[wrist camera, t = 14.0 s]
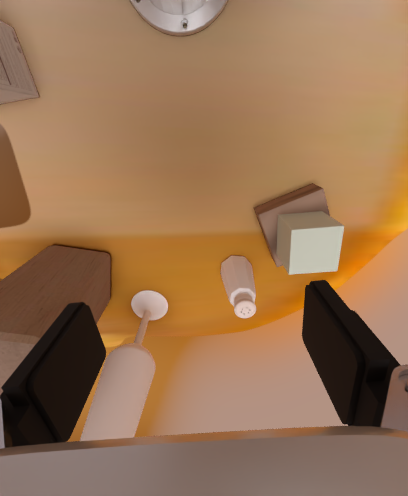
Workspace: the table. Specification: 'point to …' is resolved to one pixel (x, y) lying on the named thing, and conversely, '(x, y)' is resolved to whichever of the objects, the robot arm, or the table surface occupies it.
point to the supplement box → (14, 69)
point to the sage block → (309, 242)
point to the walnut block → (288, 212)
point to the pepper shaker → (239, 285)
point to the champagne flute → (125, 379)
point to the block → (47, 297)
